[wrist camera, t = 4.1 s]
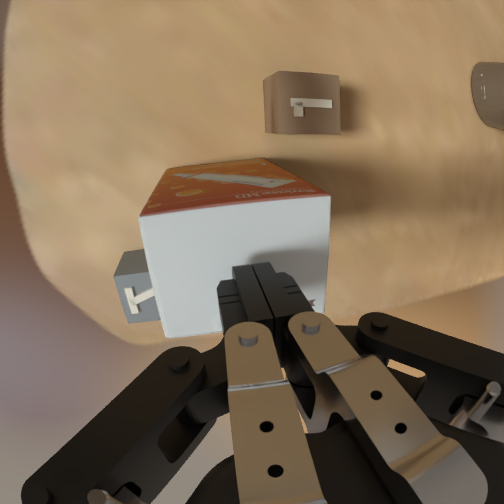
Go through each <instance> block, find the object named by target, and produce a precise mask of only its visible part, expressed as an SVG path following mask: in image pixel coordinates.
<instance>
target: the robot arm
mask: <svg viewBox="0 0 504 504" xmlns="http://www.w3.org/2000/svg"><path fill="white" fill-rule="evenodd" d="M472 94H473V99H474V103H475V106H476V109H477V112H478V114H479V116H480V117H481V119H482V120H483V122H484V123H485V124H487V125H488V126H491V127H495V128H500V129H504V63H501V62H480V63H478V64H476V66H475V67H474V69H473V73H472ZM216 289H217V297H218V305H219V312H220V320H221V325H222V331H223V336H224V337H223V339H222V341H221V342H220V343H219V344H218V345H217V346H216V347H214V348H212V349H210V350H208V351H206V352H203V353H200V352H199V351H198V350H196V349H194V348H191V347H186V346H179V347H174V348H170V349H168V350H166V351H165V352H163V353H162V354H161V355H160V356H158V358H156V359H155V360H154V361H153V362H152V363H151V364H150V365H149V366H148V367H147V368H146V369H145V370H144V371H143V372H142V373H141V374H140V375H139V376H138V377H136V379H134V380H133V381H132V382H131V383H130V384H129V385H128V386H127V387H126V388H125V389H124V390H123V391H122V392H121V393H120V394H119V395H117V396H116V397H115V398H114V399H113V400H112V401H111V402H110V403H109V404H108V405H107V406H106V407H105V408H104V409H103V410H102V411H101V412H99V413H98V414H97V415H96V416H95V417H94V418H93V419H92V420H91V421H90V422H89V423H88V424H87V425H86V426H85V427H83V428H82V429H81V430H80V431H79V432H78V433H77V434H76V435H75V436H74V437H73V438H72V439H71V440H70V441H68V442H67V443H66V444H65V445H64V446H63V447H62V448H61V449H60V450H59V451H58V452H57V453H56V454H54V456H52V457H51V458H50V459H49V460H48V461H47V462H46V463H45V464H44V465H42V466H41V467H40V468H39V469H38V470H37V471H36V472H35V473H34V474H33V475H32V476H31V477H29V478H28V479H27V480H26V481H25V483H24V485H23V487H22V491H21V499H22V504H151V502H152V501H153V500H154V499H155V498H156V497H157V495H158V494H159V493H160V492H161V491H162V489H163V488H164V487H165V486H166V485H167V484H168V482H169V481H170V480H171V479H172V478H173V476H174V475H175V474H176V473H177V472H178V470H179V469H180V468H181V467H182V465H183V464H184V463H185V461H186V460H187V459H188V457H190V455H191V454H192V453H193V451H194V450H195V449H196V447H197V446H198V445H199V444H200V442H201V441H202V440H203V439H204V437H205V436H206V435H207V433H208V432H209V431H210V429H211V428H212V427H213V425H214V424H215V422H216V420H217V417H220V416H222V415H224V414H227V413H228V412H230V421H231V432H232V441H233V450H234V454H233V455H232V456H230V457H228V458H226V459H224V460H223V461H221V462H220V463H219V464H217V465H216V466H215V467H214V468H212V469H211V470H210V471H209V473H207V475H206V476H205V477H204V478H203V479H202V481H201V482H200V484H199V485H198V486H197V488H196V489H195V491H194V492H193V494H192V495H191V497H190V498H189V499H188V501H187V502H186V503H185V504H504V354H502V353H500V352H497V351H493V350H491V349H487V348H485V347H482V346H478V345H476V344H473V343H470V342H467V341H463V340H461V339H458V338H455V337H452V336H448V335H446V334H443V333H440V332H437V331H434V330H431V329H428V328H425V327H422V326H419V325H417V324H413V323H411V322H408V321H405V320H402V319H399V318H396V317H393V316H390V315H388V314H385V313H380V312H371V313H367V314H365V315H363V316H362V317H361V318H360V319H359V323H358V326H340V325H334V323H333V322H332V321H331V320H330V319H329V318H328V317H327V316H325V315H324V314H321V313H318V312H315V311H314V309H313V308H312V306H311V305H310V303H309V302H308V300H307V298H306V297H305V295H304V294H303V292H302V291H301V289H300V287H299V286H298V284H297V283H296V281H295V280H294V278H293V277H292V276H290V275H288V274H287V273H285V272H279V273H276V272H275V270H274V268H273V267H272V265H271V263H270V262H262V263H254V264H251V265H250V264H247V265H240V266H232V279H228V280H221V281H220V282H219V284H218V286H217V288H216ZM389 359H392V360H394V361H397V362H399V363H402V364H405V365H408V366H410V367H413V368H416V369H418V370H421V371H423V372H424V373H425V374H426V375H425V376H423V377H420V378H417V377H413V376H411V375H408V374H405V373H403V372H400V371H398V370H395V369H392V368H390V367H387V365H388V362H389ZM283 367H284V370H285V372H286V380H284V378H283V374H282V370H281V368H283ZM298 410H299V412H300V414H301V416H302V418H303V420H304V422H305V424H306V427H307V431H308V433H306V434H305V433H304V430H303V426H302V422H301V419H300V415H299V412H298Z"/></svg>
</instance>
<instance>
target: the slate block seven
mask: <svg viewBox="0 0 504 504" xmlns="http://www.w3.org/2000/svg"><path fill="white" fill-rule="evenodd" d="M113 277H114V280H115V283H116V287H117V290H118V293H119V297H120V300H121V303H122V306H123V309H124V312H125V315H126V318H127V321H128V323H137V322H147V321H156V320H161V319H160V315H159V311H158V307H157V303H156V299H155V295H154V291H153V287H152V283H151V279H150V274H149V270H148V265H147V260H146V256H145V251H144V249H143V250H135V251H128V252H124V253H123V255H122V258H121V260H120V262H119V265H118V267H117V269H116V271H115V274H114V276H113Z"/></svg>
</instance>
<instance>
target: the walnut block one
mask: <svg viewBox="0 0 504 504" xmlns="http://www.w3.org/2000/svg"><path fill="white" fill-rule="evenodd" d="M263 91H264V112H265V132H267V133H275V134H336V135H340V89H339V76H337V75H328V74H318V73H306V72H289V71H278V72H276V73H274V74H273V75H271V76H269V77H267V78H266V79H264V80H263Z"/></svg>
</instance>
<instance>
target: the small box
mask: <svg viewBox="0 0 504 504" xmlns="http://www.w3.org/2000/svg"><path fill="white" fill-rule="evenodd" d="M330 209H331V196H330V194H328V193H326V192H324V191H323V190H321V189H319V188H317V187H315V186H313V185H312V184H310V183H308V182H306V181H305V180H303V179H301V178H299V177H297V176H295V175H294V174H292V173H290V172H288V171H286V170H284V169H282V168H280V167H278V166H277V165H275V164H273V163H271V162H269V161H267V160H265V159H263V158H258V159H250V160H241V161H231V162H221V163H213V164H204V165H195V166H186V167H178V168H170V169H166V171H165V172H164V174H163V176H162V177H161V179H160V180H159V182H158V184H157V186H156V187H155V189H154V191H153V192H152V194H151V196H150V197H149V199H148V201H147V203H146V205H145V206H144V208H143V210H142V212H141V214H140V215H139V218H138V219H139V225H140V230H141V236H142V241H143V246H144V251H145V256H146V260H147V265H148V270H149V274H150V279H151V283H152V287H153V291H154V295H155V299H156V303H157V307H158V311H159V315H160V319H161V322H162V326H163V330H164V333H165V336H166V337H167V338H176V337H187V336H195V335H204V334H211V333H218V332H223V331H222V325H221V320H220V312H219V305H218V297H217V289H216V288H217V286H218V284H219V282H220V281H221V280H228V279H232V266H240V265H247V264H250V265H251V264H254V263H262V262H270V263H271V265H272V267H273V268H274V270H275V272H276V273H279V272H285V273H287V274H288V275H290V276H292V277H293V278H294V280H295V281H296V283H297V284H298V286H299V287H300V289H301V291H302V292H303V294H304V295H305V297H306V298H307V300H308V302H309V303H310V305H311V306H312V308H313V309H314V311H315V312H318V313H323V312H324V310H325V295H326V284H327V271H328V257H329V237H330Z"/></svg>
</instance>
